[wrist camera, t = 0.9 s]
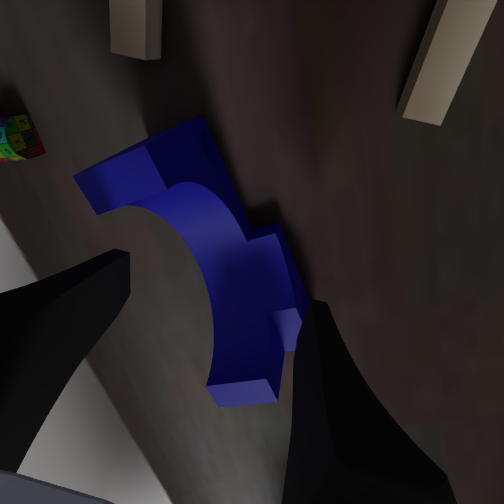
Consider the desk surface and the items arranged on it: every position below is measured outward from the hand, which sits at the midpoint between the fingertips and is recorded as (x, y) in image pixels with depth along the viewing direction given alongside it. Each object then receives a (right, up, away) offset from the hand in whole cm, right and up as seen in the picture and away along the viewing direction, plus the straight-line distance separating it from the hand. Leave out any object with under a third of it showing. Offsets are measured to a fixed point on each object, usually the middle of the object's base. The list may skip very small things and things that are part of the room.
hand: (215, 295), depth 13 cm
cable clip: (+1, +3, +5) cm, 6 cm away
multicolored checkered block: (-11, +8, +5) cm, 14 cm away
